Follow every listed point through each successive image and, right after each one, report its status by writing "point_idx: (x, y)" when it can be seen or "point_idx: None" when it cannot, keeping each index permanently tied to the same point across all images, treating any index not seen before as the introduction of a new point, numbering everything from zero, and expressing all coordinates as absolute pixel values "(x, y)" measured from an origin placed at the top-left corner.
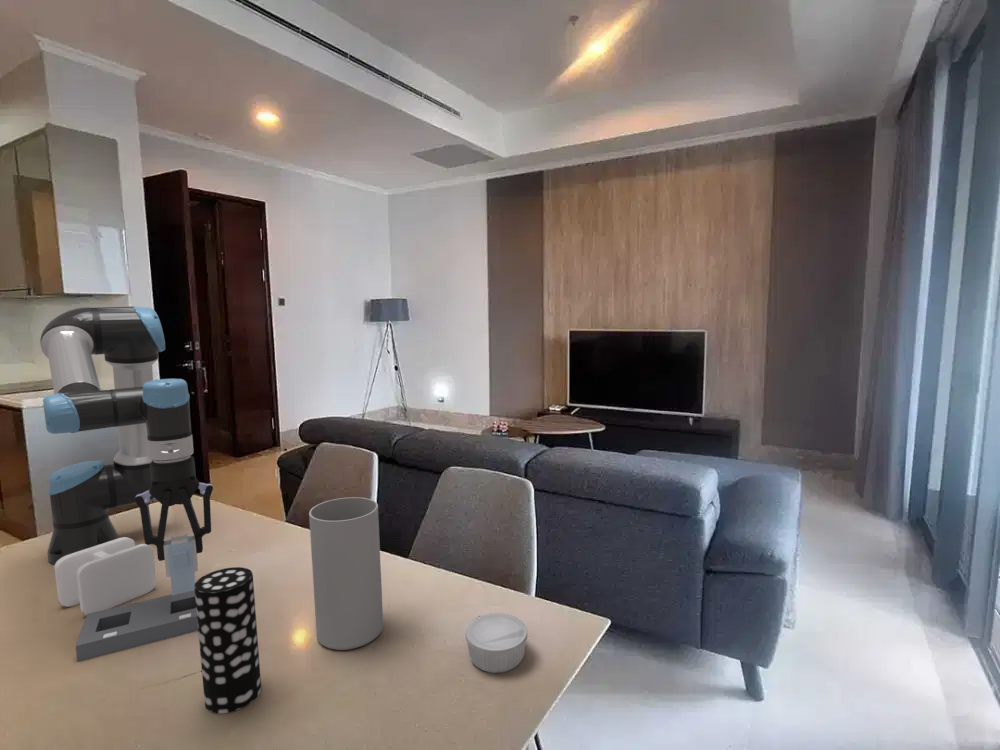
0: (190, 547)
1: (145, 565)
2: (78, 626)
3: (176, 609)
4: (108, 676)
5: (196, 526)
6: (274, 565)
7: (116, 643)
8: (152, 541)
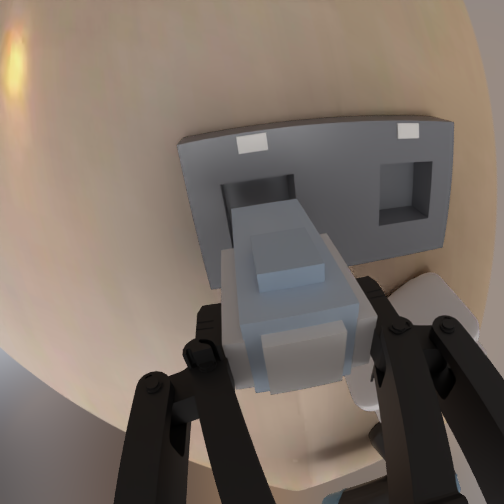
0: (243, 304)
1: (361, 367)
2: (435, 251)
3: None
4: (375, 40)
5: (210, 415)
6: (124, 358)
7: (388, 118)
8: (428, 336)
